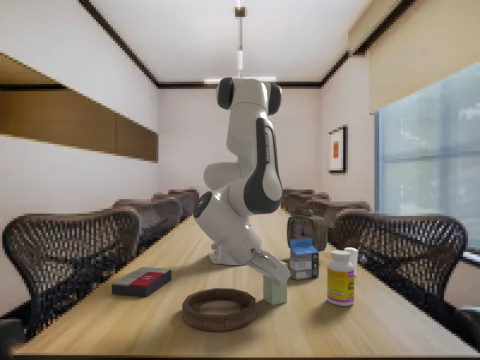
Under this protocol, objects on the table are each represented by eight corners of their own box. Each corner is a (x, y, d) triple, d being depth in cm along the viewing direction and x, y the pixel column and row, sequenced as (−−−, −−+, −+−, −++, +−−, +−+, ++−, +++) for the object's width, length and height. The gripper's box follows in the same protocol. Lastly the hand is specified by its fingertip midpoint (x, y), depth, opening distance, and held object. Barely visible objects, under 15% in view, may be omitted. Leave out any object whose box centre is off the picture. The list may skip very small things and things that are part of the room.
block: (263, 298, 78) (263, 261, 78) (277, 296, 80) (277, 259, 80) (272, 305, 74) (272, 265, 74) (287, 302, 76) (287, 263, 76)
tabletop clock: (286, 257, 121) (286, 197, 121) (301, 254, 126) (300, 196, 126) (315, 265, 109) (315, 198, 110) (330, 261, 115) (329, 198, 115)
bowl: (175, 306, 73) (175, 294, 73) (237, 295, 80) (237, 284, 80) (195, 339, 58) (195, 324, 58) (269, 321, 65) (269, 308, 65)
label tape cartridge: (296, 280, 92) (296, 241, 93) (289, 277, 96) (289, 239, 96) (319, 277, 96) (319, 239, 96) (312, 274, 99) (312, 237, 100)
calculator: (110, 282, 81) (141, 264, 96) (111, 297, 81) (141, 277, 96) (146, 285, 79) (171, 267, 93) (146, 301, 79) (172, 280, 93)
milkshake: (362, 277, 96) (361, 246, 96) (344, 276, 97) (344, 246, 97) (359, 273, 100) (359, 244, 100) (342, 272, 101) (342, 243, 101)
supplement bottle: (351, 309, 72) (351, 256, 72) (324, 303, 75) (324, 253, 75) (356, 300, 77) (356, 251, 77) (331, 295, 81) (330, 248, 81)
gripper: (273, 244, 65) (309, 281, 69) (235, 230, 83) (264, 260, 87) (256, 266, 63) (293, 304, 67) (220, 247, 81) (251, 278, 85)
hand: (277, 279), depth 77 cm, fingers closed on block, 4 cm apart
